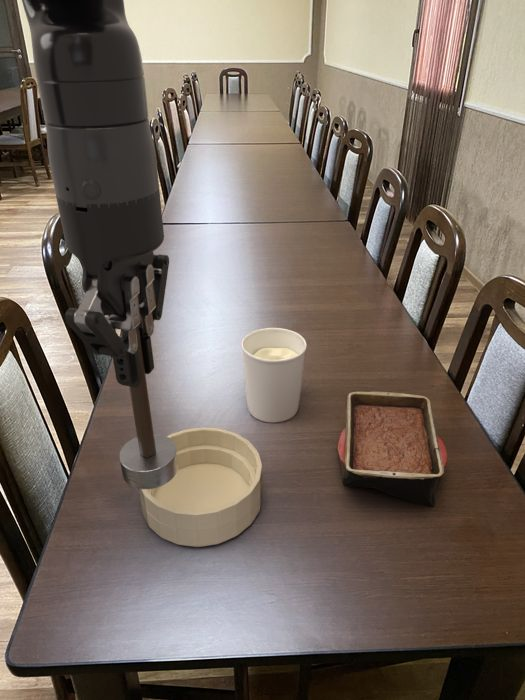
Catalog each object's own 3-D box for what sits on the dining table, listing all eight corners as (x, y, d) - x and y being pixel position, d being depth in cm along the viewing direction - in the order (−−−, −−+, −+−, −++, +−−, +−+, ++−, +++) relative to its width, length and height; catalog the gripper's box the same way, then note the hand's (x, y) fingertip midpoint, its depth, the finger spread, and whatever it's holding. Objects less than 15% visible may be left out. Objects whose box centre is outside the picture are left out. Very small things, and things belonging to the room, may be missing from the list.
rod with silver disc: (132, 497, 52) (105, 352, 43) (115, 461, 56) (89, 323, 47) (186, 477, 54) (171, 335, 45) (167, 444, 58) (150, 309, 50)
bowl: (167, 569, 61) (163, 534, 58) (128, 483, 72) (122, 450, 69) (283, 519, 67) (284, 484, 64) (229, 447, 79) (228, 414, 75)
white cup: (237, 422, 83) (235, 357, 77) (248, 386, 92) (247, 325, 85) (300, 429, 82) (303, 363, 76) (305, 392, 90) (309, 330, 84)
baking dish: (325, 510, 71) (335, 463, 64) (342, 413, 84) (352, 366, 78) (436, 536, 69) (458, 490, 62) (435, 432, 82) (453, 386, 76)
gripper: (110, 162, 46) (135, 335, 56) (2, 207, 35) (56, 415, 44) (190, 167, 45) (202, 346, 54) (104, 217, 33) (138, 432, 42)
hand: (136, 377), depth 49 cm, fingers closed on rod with silver disc
